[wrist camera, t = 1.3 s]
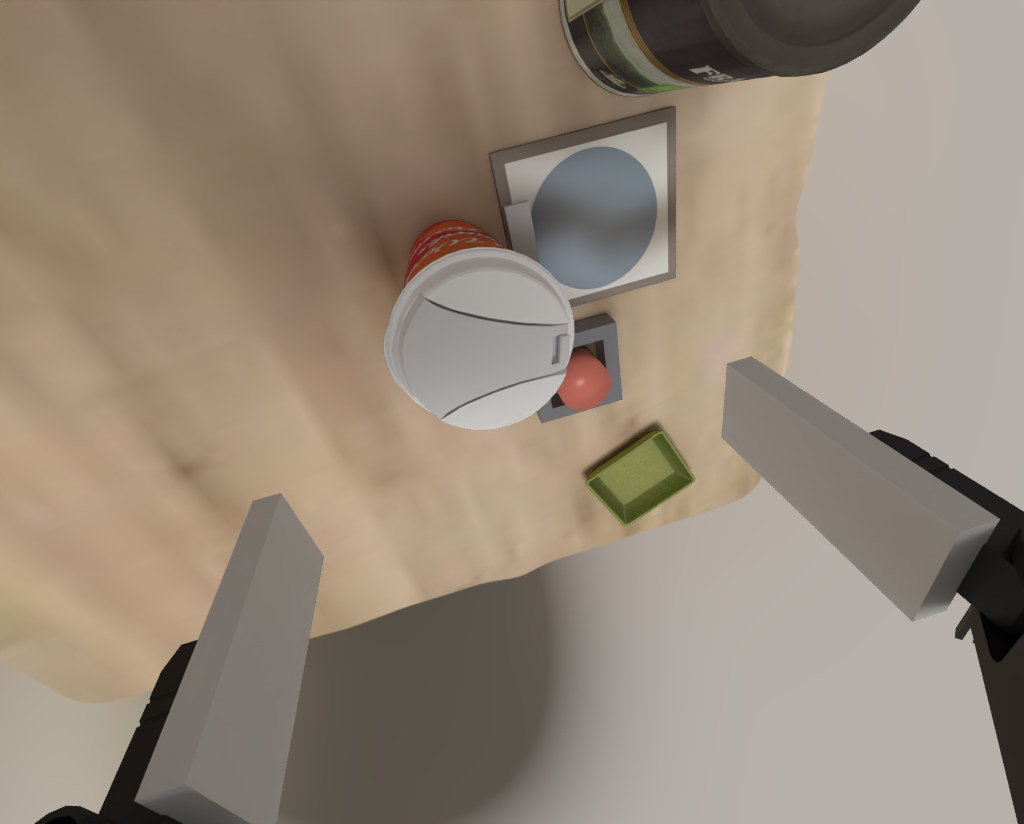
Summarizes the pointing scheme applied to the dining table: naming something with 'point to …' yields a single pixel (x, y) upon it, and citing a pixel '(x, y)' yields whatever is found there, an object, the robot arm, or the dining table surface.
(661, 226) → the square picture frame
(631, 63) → the coffee can
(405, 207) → the dining table surface
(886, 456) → the robot arm
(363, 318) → the dining table surface
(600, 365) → the button
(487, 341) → the coffee cup
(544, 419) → the button housing
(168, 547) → the dining table surface
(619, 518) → the green rectangular tray
